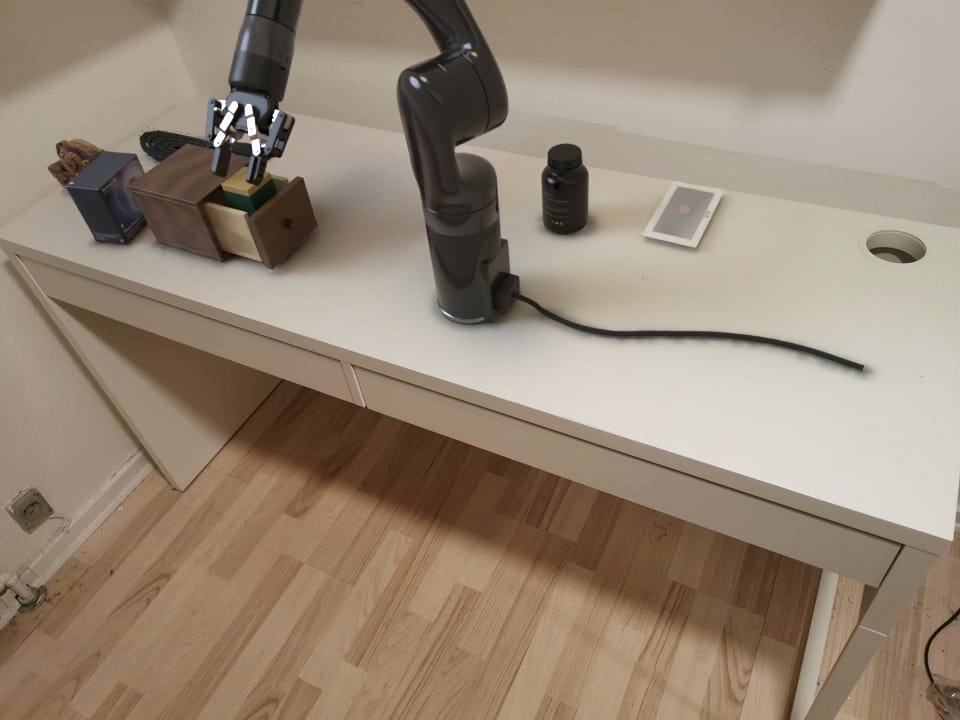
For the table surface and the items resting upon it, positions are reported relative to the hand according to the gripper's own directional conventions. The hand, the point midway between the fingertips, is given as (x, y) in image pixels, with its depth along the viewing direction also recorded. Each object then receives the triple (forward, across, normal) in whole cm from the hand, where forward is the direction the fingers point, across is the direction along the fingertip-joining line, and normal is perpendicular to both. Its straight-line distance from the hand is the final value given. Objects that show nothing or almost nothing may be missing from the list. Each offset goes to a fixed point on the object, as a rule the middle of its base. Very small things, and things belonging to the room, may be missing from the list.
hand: (235, 179), depth 98 cm
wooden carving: (+8, -39, +10) cm, 41 cm away
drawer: (+7, 0, +10) cm, 12 cm away
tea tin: (+4, 0, +7) cm, 8 cm away
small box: (+11, -26, +7) cm, 29 cm away
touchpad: (-12, +56, +30) cm, 65 cm away
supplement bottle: (-7, +40, +25) cm, 48 cm away
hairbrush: (-5, -30, +23) cm, 38 cm away
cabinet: (+8, -11, +10) cm, 17 cm away
